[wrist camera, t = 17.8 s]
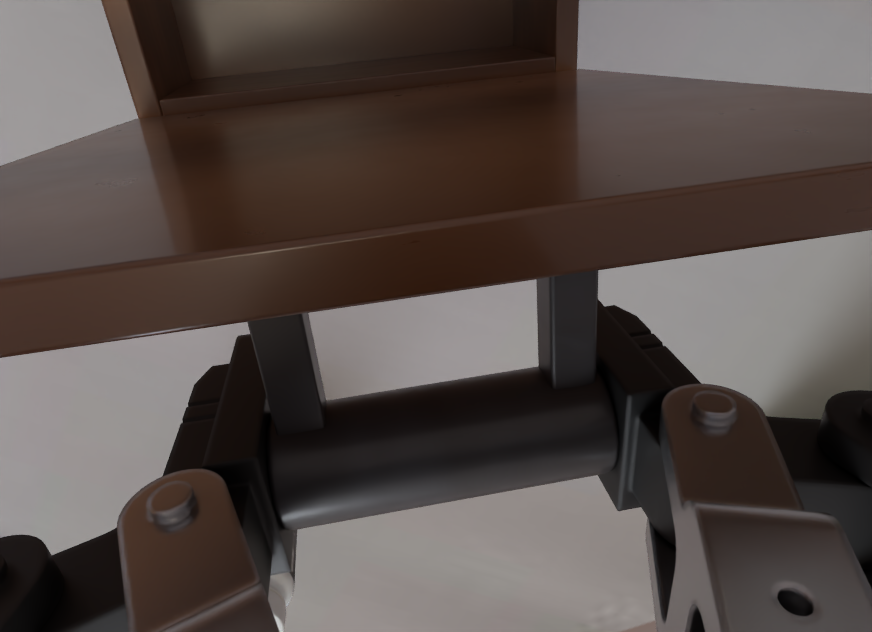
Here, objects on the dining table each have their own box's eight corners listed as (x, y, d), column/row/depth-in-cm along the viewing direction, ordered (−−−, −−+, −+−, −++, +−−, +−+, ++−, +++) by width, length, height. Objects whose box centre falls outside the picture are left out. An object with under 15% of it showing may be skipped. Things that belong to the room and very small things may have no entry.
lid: (-550, 354, 4) (-183, 755, 7) (1194, 120, 6) (1025, 511, 8) (133, 119, 19) (177, 266, 21) (581, 68, 21) (580, 211, 23)
